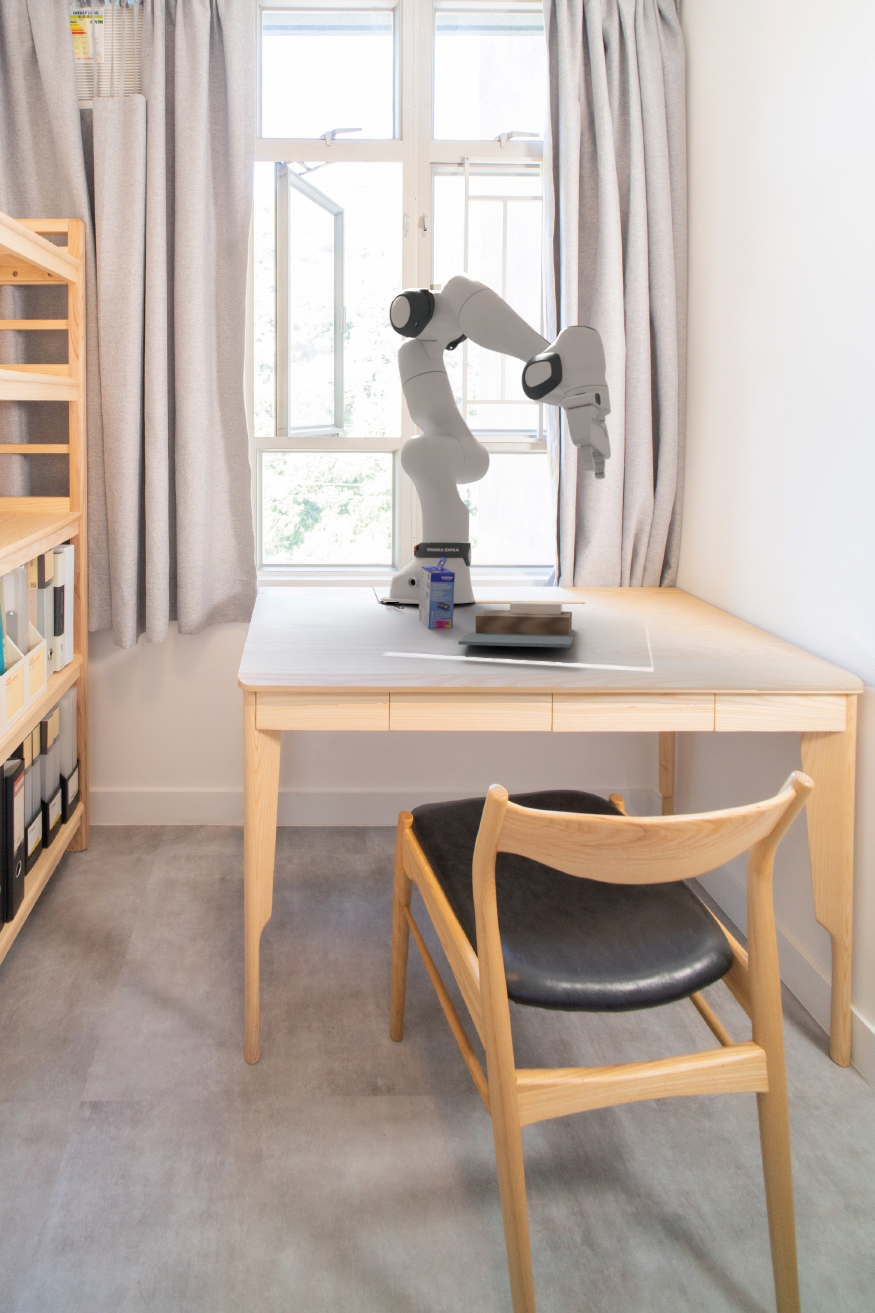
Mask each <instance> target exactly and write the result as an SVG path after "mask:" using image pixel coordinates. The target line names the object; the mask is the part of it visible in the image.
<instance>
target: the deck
mask: <svg viewBox="0 0 875 1313" xmlns="http://www.w3.org/2000/svg"><path fill="white" fill-rule="evenodd" d="M572 621H573V611H564V610H562V613H561V614H512V613H510V609H508V610H507V609H506V610H505V609H504V610H503V609H500V610H499V609H484V610H482V611H480V612H479V613H478V614H476V615H475V632H474V633H498V634H540V635H572V634H571V633H572V626H573V624H572V623H573V622H572Z"/></svg>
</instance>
